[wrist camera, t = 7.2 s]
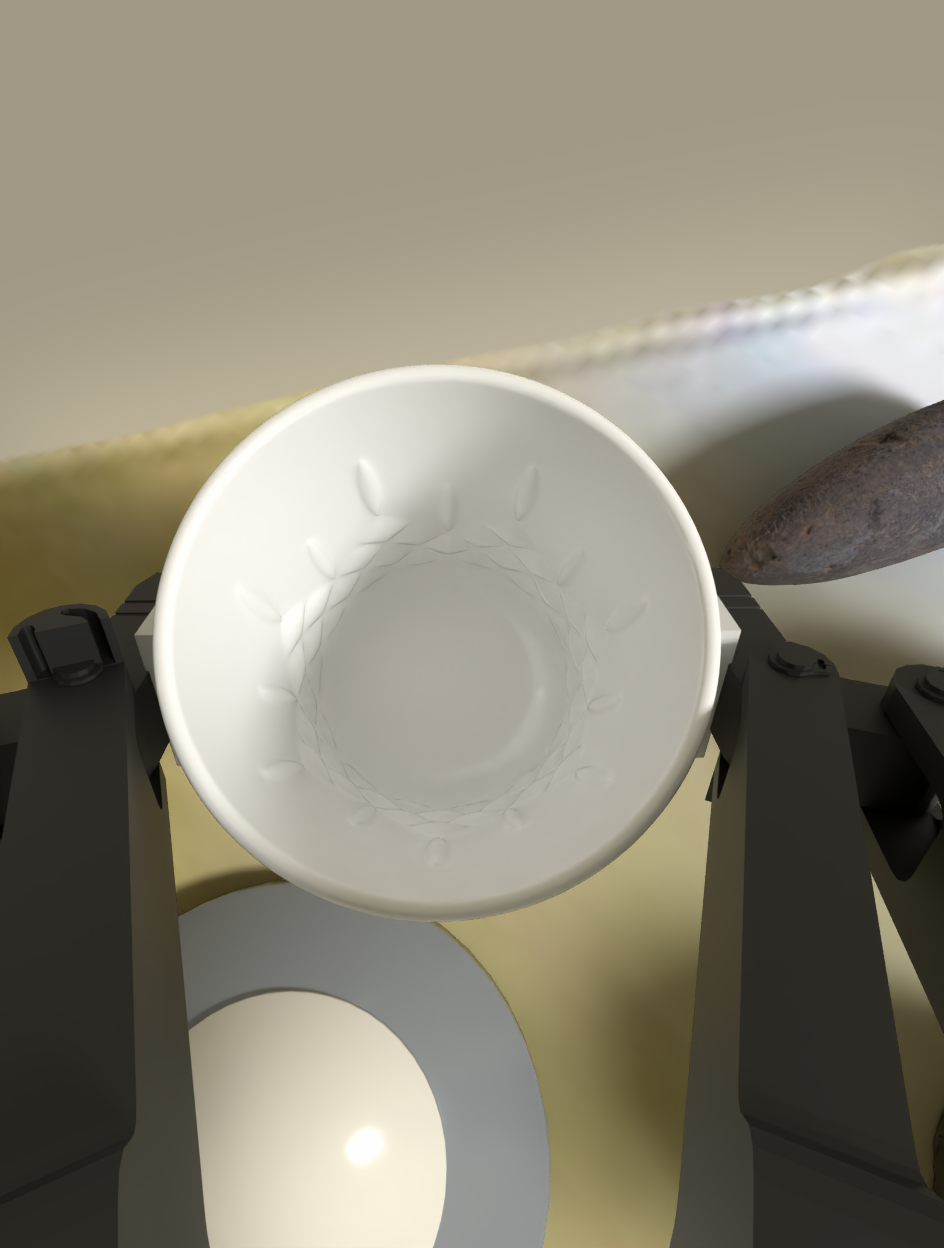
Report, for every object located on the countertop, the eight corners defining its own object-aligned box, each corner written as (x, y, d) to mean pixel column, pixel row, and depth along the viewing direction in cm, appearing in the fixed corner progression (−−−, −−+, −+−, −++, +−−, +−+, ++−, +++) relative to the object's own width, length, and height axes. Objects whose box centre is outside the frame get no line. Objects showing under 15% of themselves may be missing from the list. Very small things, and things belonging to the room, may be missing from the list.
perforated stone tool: (723, 636, 27) (810, 595, 20) (671, 525, 28) (738, 451, 21) (1029, 517, 29) (1206, 441, 22) (969, 415, 30) (1121, 312, 23)
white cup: (510, 520, 20) (569, 290, 10) (628, 759, 19) (826, 761, 9) (267, 623, 19) (73, 480, 9) (371, 882, 18) (275, 1038, 8)
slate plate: (-73, 1157, 23) (-110, 1184, 21) (306, 779, 26) (296, 780, 24) (275, 1612, 20) (260, 1679, 19) (649, 1138, 23) (662, 1163, 22)
